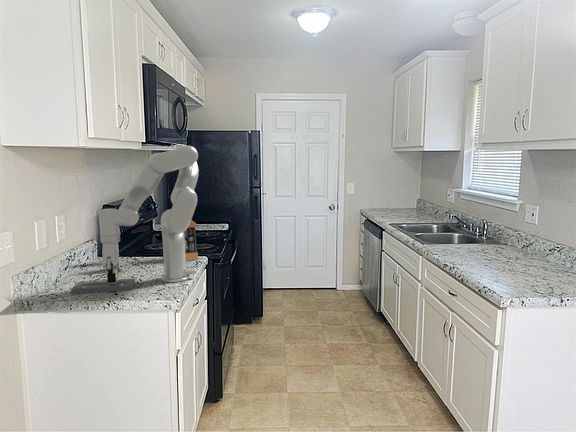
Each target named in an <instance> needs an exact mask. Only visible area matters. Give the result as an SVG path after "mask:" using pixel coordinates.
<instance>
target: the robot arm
mask: <svg viewBox="0 0 576 432" xmlns="http://www.w3.org/2000/svg"><path fill="white" fill-rule="evenodd" d="M198 160H199V153H198V151H197V149H196V148H195V147H194V146H192V145H180V146H177V147H176V148H174V149H171V150H168V151H163V152H155V153H152V154H151V155H150V157H149V158H148V159H147V161H146V163H145V165H144V166H143V168H142V170H141V172H140V174H139V175H138V177H137V179H136V180H135V181H134V184H133V185H132V186H131V188H130V189H129V191H128V193H127V194H126V196H125V198H124V199H123V201H122V203H121V205H120V206H119V207H118V209H117V208H102V209H100V210H99V211H98V220H99V223H98V225H99V237H100V238H99V239H100V243H101V244H102V248H101V250H102V252H101V253H102V259H101V260H102V267H103V268H106V265H107V272H106V275H107V276H106V277H107V279H106V280H108V283H115V282H116V273H115V269H118V267H117V263H118V261H120V254H119V253H120V252H119V242H120V243H121V231H120V226H123V227H131V226H135V225H137V224H138V222H139V219H140V215H139V210H140V208H141V206H142V205H143V203H144V201H146V199H147V198H149V197H150V196H151V195H152V194H153V193H154V192H155V190H156V189H157V187H158V185H159V184H160V182H161V181H162V178H163V177H164V175H165V174H167V173H171V172H175V171H177V170H179V171H178V175H177V178H176V182H175V185H174V187H173V188H172V189H173V190H172V192H171V195H170V201H171V203H172V207H171V208H170V209H167V210H165V211H164V212H163V213H162V214H161V217H160V227H161V235H162V251H163V253H162V254H163V273H164V274H163V275H161V276H160V280H161V282H165V283H179V282H184V281H187V280H189V279H190V277H191V276H190V275H196V274H197V270H196V269H193V268H191V269H189V268H188V267H187V265H186V260H185V237H184V231H186V229H187V228H188V226H189V224H190V222H191V220H192V219H193V216H194V214H195V210H196V207H197V205H198V195H197V192H196V191H195V189H196V186H197V183H198V178H199V175H200V174H199V173H200V170H199V165H198V162H197V161H198ZM117 272H118V270H117ZM118 273H119V272H118Z"/></svg>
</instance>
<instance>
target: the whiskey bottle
mask: <svg viewBox="0 0 576 432" xmlns="http://www.w3.org/2000/svg"><path fill="white" fill-rule="evenodd" d="M196 228H197V222H195V221H193V220H192V219H191V222H190V224H189V226H188V228H187V229H186V231H184V237H185V260H186V261H196V260H199V254H198V251H197V236H196V235H197V234H196Z"/></svg>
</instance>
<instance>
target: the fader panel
mask: <svg viewBox="0 0 576 432" xmlns="http://www.w3.org/2000/svg"><path fill="white" fill-rule="evenodd" d="M135 284H136V278H121V279H120V278H118V281H117V283H113V284H108V280H107V279H103V280H101V279H100V280H88V281H87V280H86V281H84V280H83V281H78V282H76V283H75V285H74V286H73V287H71V289H70V290H71V294H72V295H73V294H75V295H76V294H86V293H87V294H89V293H90V294H91V293H103V292H106V293H107V292H117V291H119V292H121V291H132V290H133V289H134V287H135Z"/></svg>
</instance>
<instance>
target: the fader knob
mask: <svg viewBox="0 0 576 432" xmlns="http://www.w3.org/2000/svg"><path fill="white" fill-rule="evenodd" d="M115 273H116V282H115V283H117V281H118V279H119V272H117V269H115ZM108 284H113V283H108Z"/></svg>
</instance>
